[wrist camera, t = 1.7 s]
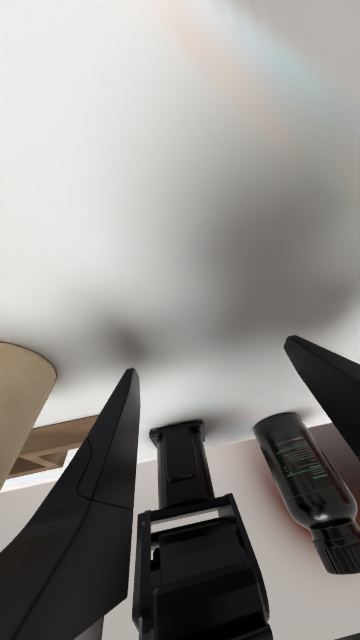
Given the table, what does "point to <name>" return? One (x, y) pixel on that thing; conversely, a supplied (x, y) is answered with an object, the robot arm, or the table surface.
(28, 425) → the candle
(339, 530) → the supplement bottle
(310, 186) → the table surface
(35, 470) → the trap lane
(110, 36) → the table surface
